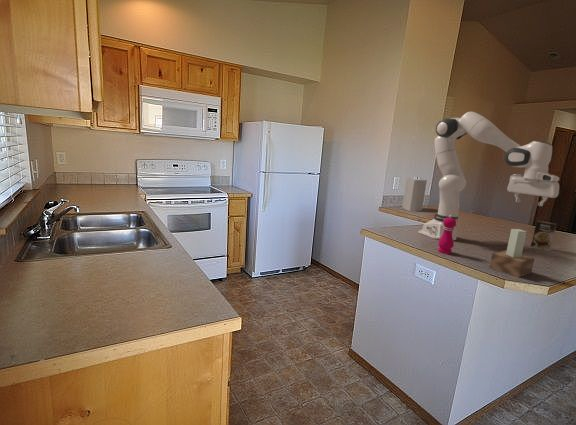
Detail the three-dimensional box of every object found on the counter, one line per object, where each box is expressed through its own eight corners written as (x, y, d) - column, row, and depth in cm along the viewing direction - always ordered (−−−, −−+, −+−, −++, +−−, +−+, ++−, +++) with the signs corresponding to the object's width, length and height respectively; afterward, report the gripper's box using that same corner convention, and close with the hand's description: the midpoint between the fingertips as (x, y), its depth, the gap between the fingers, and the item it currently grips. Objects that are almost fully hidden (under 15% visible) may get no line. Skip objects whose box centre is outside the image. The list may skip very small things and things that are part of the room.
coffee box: (529, 247, 188) (536, 221, 184) (531, 246, 192) (537, 220, 189) (549, 252, 182) (556, 224, 178) (550, 249, 186) (557, 223, 183)
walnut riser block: (489, 267, 147) (492, 253, 145) (502, 264, 153) (505, 250, 152) (518, 277, 137) (522, 262, 136) (531, 273, 143) (534, 258, 142)
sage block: (505, 254, 145) (511, 228, 143) (513, 254, 146) (519, 229, 144) (512, 257, 142) (518, 231, 139) (520, 257, 142) (526, 231, 140)
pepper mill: (433, 250, 168) (440, 213, 164) (443, 249, 171) (450, 213, 167) (445, 254, 162) (452, 216, 158) (455, 253, 165) (462, 216, 161)
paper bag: (425, 212, 284) (430, 181, 279) (409, 211, 284) (414, 179, 279) (417, 208, 303) (422, 179, 297) (402, 207, 303) (406, 177, 297)
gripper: (508, 173, 159) (502, 200, 162) (558, 178, 142) (550, 208, 145) (514, 173, 162) (508, 200, 165) (563, 178, 145) (556, 207, 148)
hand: (528, 204), depth 155 cm, fingers open, 8 cm apart
